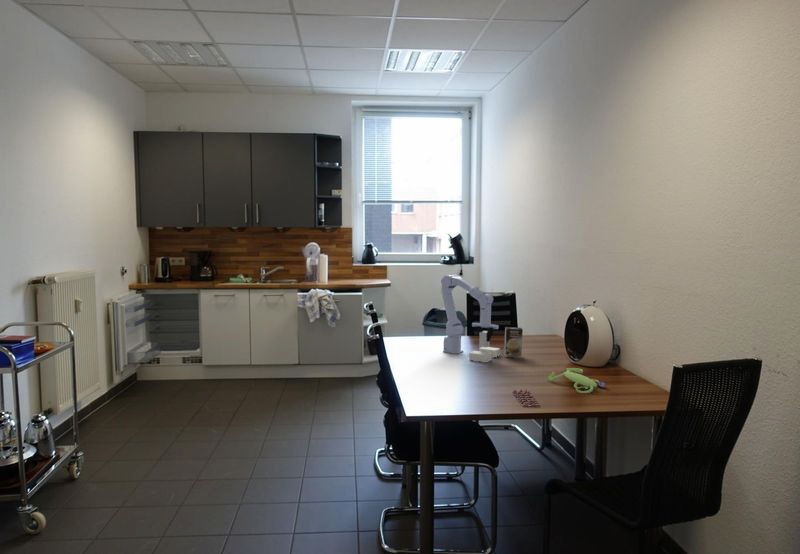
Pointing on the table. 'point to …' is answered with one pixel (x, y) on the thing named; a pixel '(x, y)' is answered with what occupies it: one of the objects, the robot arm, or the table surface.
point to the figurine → (578, 379)
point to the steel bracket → (483, 339)
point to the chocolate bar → (526, 398)
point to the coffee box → (513, 342)
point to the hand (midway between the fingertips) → (484, 340)
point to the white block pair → (484, 354)
